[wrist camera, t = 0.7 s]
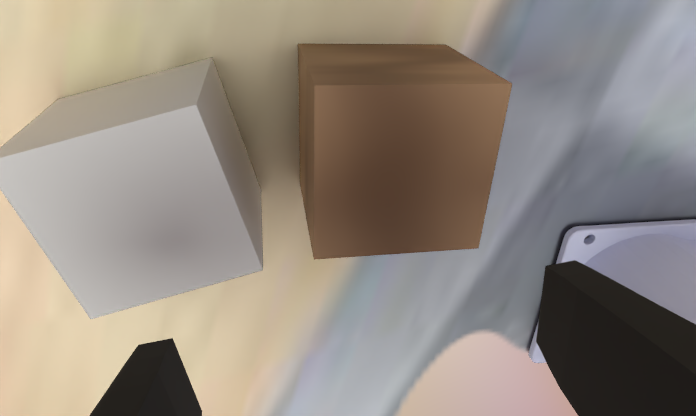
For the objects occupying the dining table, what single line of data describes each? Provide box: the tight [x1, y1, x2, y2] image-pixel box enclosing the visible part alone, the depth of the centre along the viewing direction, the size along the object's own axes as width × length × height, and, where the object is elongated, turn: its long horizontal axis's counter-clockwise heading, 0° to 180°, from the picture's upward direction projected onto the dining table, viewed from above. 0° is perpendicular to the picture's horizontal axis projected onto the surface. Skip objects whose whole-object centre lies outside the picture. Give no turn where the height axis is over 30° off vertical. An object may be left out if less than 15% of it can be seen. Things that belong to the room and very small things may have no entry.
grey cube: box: [0, 58, 263, 319], centre depth 14 cm, size 5×5×5 cm
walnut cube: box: [298, 44, 512, 259], centre depth 15 cm, size 5×5×5 cm
